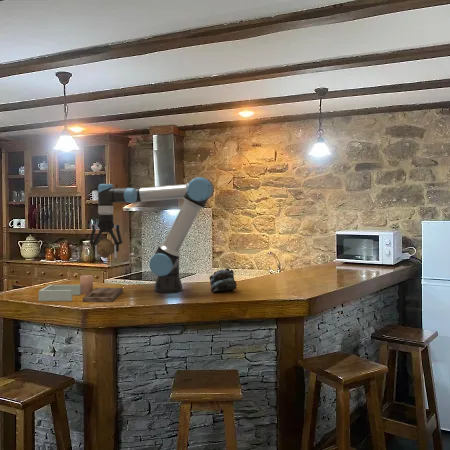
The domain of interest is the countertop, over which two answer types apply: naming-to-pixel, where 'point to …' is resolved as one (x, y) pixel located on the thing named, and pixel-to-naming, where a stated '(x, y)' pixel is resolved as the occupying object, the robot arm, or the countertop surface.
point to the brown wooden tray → (103, 295)
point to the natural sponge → (105, 248)
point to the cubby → (59, 292)
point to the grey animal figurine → (222, 280)
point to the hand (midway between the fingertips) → (106, 257)
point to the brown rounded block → (86, 284)
